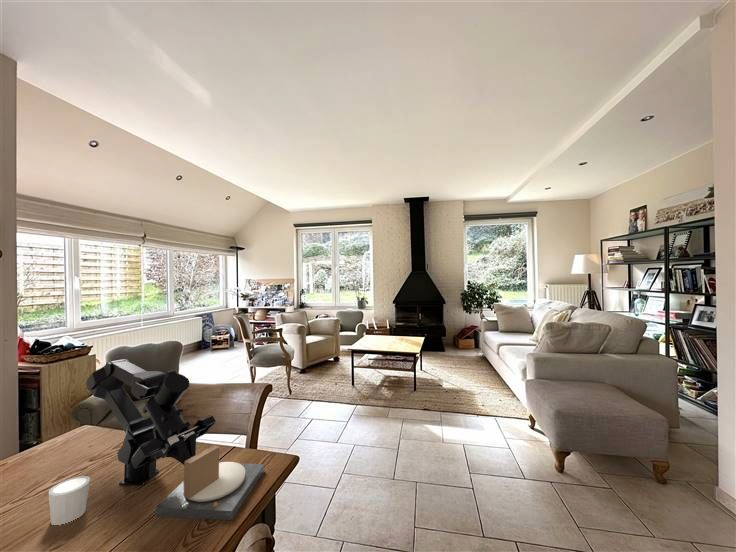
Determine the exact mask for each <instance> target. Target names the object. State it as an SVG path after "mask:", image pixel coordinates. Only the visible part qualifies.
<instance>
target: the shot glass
mask: <svg viewBox="0 0 736 552" xmlns="http://www.w3.org/2000/svg"><path fill="white" fill-rule="evenodd" d="M90 483H91V477H89V476H87V475H86V476H85V475H84V476H83V475H80V476H75V477H72V478H68V479H65V480H63V481H61V482H59V483H57V484H56V485H54V486H52V487H51V488H50V489H49V490H48V500H49V503H48V505H49V514H50V525H52V526H53V525H59V526H62V525H61V524H64V525H66V524H65V523H67V524H69V523H68V522H70V523H72V522H74V521H76V520H78V519H79V518H80V517H82V516H83V515H84V514H85V512H86V508H87V503H88V497H89V489H90ZM77 518H78V519H77ZM75 519H76V520H75ZM73 520H74V521H73ZM71 521H72V522H71Z"/></svg>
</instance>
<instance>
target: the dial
mask: <svg viewBox="0 0 736 552" xmlns="http://www.w3.org/2000/svg"><path fill="white" fill-rule="evenodd" d="M183 468H184V469H183V481H184V497H186V498H188V499H189V500H192V501H197V502H205V501H211V500H215V499H219V498H222V497H224V496H226V495H228V494H230V493H232V492H233V491H235V490H236V489H237V488H238V487H239V486H240V485H241V484H242V483H243V481H244V479H245V468H244V467H243V466H242V465H241V464H239V462H236V461H235V462H234V461H222V462H220V446H219V445H218V446H217V445H215V444H213V445H212V446H209V447H208V448H206V449H204V450H202V451H201V452H199V453H196V455H195V456H193V457H191V458H190V459H188V460H186V461H184V465H183Z"/></svg>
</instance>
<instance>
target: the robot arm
mask: <svg viewBox="0 0 736 552" xmlns="http://www.w3.org/2000/svg"><path fill="white" fill-rule="evenodd" d="M85 381H86V383H85V385H86V390H88V391H89V392H90V393H91V395H93V397H94V398H98V399H101V400H105V402H106V404H107V406H108V408H110V410H111V412H112V413H113V415H114V417H115V418H116V420H117V421H118V423H119V425H120V426H121V428H122V429H123V431H124V432H125V433H124V437H123V442H122V445H121V447H120V448H119V450H117V453H116V454H117V461H118V462H121V463H122V464H123V465H124V472H123V473H124V474H123V475H124V476H123V479H121V480H120V481H119V482H118V485H120V486H140V487H141V486H143V485H144V484H145V483H146V482H147V481H149V480H150V479H152V477H154V476H155V475H156V474H158V473H159V471H160V469H159V468H157V461H158V460H159V459H161V458H162V459H164V458H165V459H166V458H171V459H174V460H176V461H178V462H179V463H180V464H181V465H183V466H184V461H186V460H188V459H190V458H191V457H193V456H195V455H197V451H196V447H197V446H196V445H197V439H198V438H200V437H202V436H204V435H206V434H207V433H209V431H210V430H211V429H212V428H213V426H214V425H215V424H216V423H217V420H216V418H215V417H214V415H211V414H208V415H205V416H204V417H202V418H199V419H198V420H197V421H196V423H194V425H193V426H192V427H190V426H191V423H190V421H186V422H185V420H184V418H183V416H182V414H183V413H184V410H183V409H182V408H180V409H178V407H177V405H176V404H177V403H178V402H179V400H180V399H181V398H182V396H183V395H184V394H185V393H186V391H187V390H188V388H189V387H190V380H189V378H188V377H186V376H185V375H184V374H181V373H177V372H176V370H170V371H167V372H166V373H165V372H163V371H157V370H153V371H148V370H145V369H143V368H141V367H139V366H138V365H136V364H134V363H131V362H130V361H129V359H125V358H123V359H122V358H121V359H118V360H111V361H108V362H106V363H105V365H104V366H103V367H101V368H98V369H96V371H93V372H92V373H91V374H90V375H89V377H87V379H86V380H85ZM125 384H126V385H127V386H130V387H131V388H130V389H131V390H130V393H131V395H133V396H134V398H136V399H137V400H143V399H147V398H149V399H148V400H147V401H145V402H144V406H143V409H142V413H143V414H146V413H147V414H148V416H149V417H148V418H147V417H146V418H144V416H143V414H142V413H141V412H140V410H139V409H138V407H137V406H136V404H135V403H134V401H133V400H132V398H131V396H130V395H129V393H127V391H126V390H125V388H124V385H125ZM189 427H190V428H189Z"/></svg>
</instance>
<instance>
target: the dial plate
mask: <svg viewBox="0 0 736 552" xmlns="http://www.w3.org/2000/svg"><path fill="white" fill-rule="evenodd" d="M238 463H239V462H238ZM239 464H241V465H242V466H243V467H244V468H245V479H244V481H243V483H242V484H241V485H240V486H239V487H238V488H237V489H236V490H235V491H233V492H232V493H230V494H228V495H226V496H224V497H222V498H219V499H215V500H211V501H205V502H197V501H192V500H189V499H188V498H186V497H184V480H182V481H181V483H180V484H179V485H178V486H176V488H175V489H173V491H172V492H170V493H169V494H168V495H167V496H166V497H165V498H164V499H163V500H162V501H161V502H160V503H158V504H157V506H156V507H155V516H154V517H157V518H176V519H177V518H179V519H181V518H182V519H198V520H199V519H200V520H222V521H232V520H233V519H234V517H235V515H237V513H238V511H239V510H240V508H241V507H242V505H243V504H244V502H245V501H246V499H247V498H248V496H249V494H250V493H251V492H252V490H253V489H254V487H255V486H256V484H257V483H258V481H259V480H260V478H261V477H262V475H263V474H264V473H265V464H264V463H239Z"/></svg>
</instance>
